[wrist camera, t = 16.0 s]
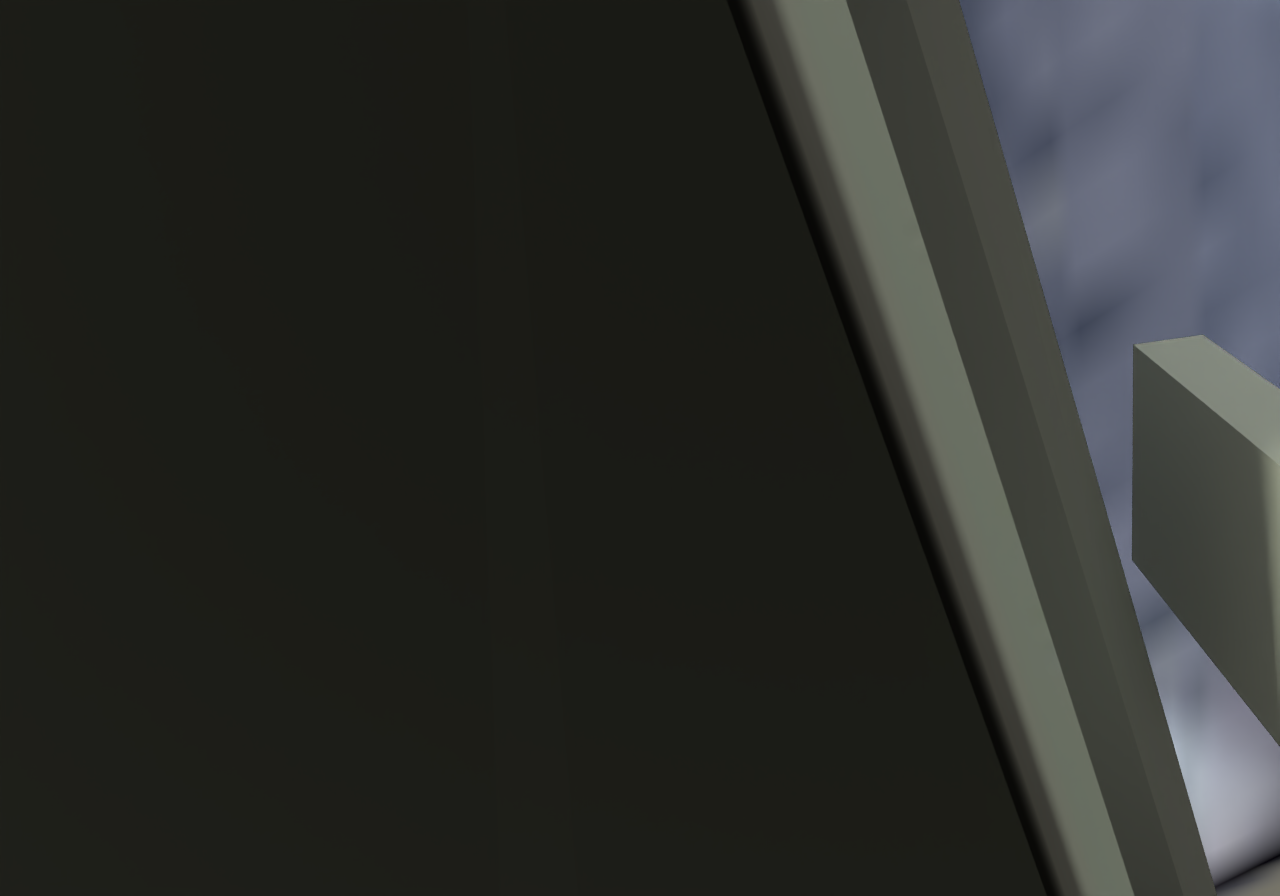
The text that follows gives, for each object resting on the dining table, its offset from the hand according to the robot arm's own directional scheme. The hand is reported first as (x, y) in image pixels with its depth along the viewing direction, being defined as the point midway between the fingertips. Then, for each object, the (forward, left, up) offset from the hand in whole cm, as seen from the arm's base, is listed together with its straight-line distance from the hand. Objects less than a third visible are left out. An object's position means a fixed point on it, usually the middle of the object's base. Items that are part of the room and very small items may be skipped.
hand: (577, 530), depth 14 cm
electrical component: (+1, 0, -14) cm, 14 cm away
